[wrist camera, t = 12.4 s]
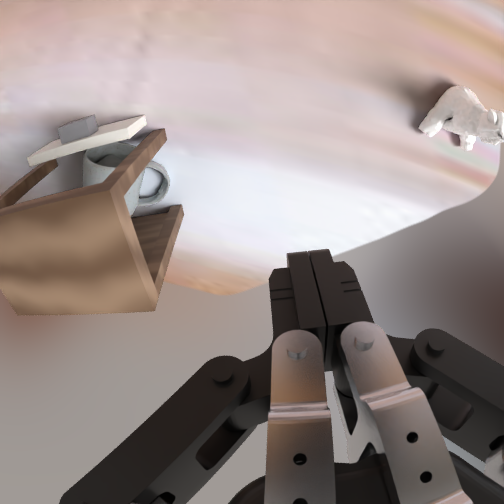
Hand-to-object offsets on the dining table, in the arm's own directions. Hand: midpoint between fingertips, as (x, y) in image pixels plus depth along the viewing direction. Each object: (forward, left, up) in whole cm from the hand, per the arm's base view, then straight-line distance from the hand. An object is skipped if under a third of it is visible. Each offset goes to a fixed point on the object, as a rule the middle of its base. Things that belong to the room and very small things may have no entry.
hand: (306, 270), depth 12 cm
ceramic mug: (+5, -18, -29) cm, 35 cm away
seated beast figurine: (0, +25, -29) cm, 39 cm away
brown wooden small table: (+6, -21, -29) cm, 36 cm away
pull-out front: (-3, -21, -29) cm, 36 cm away
